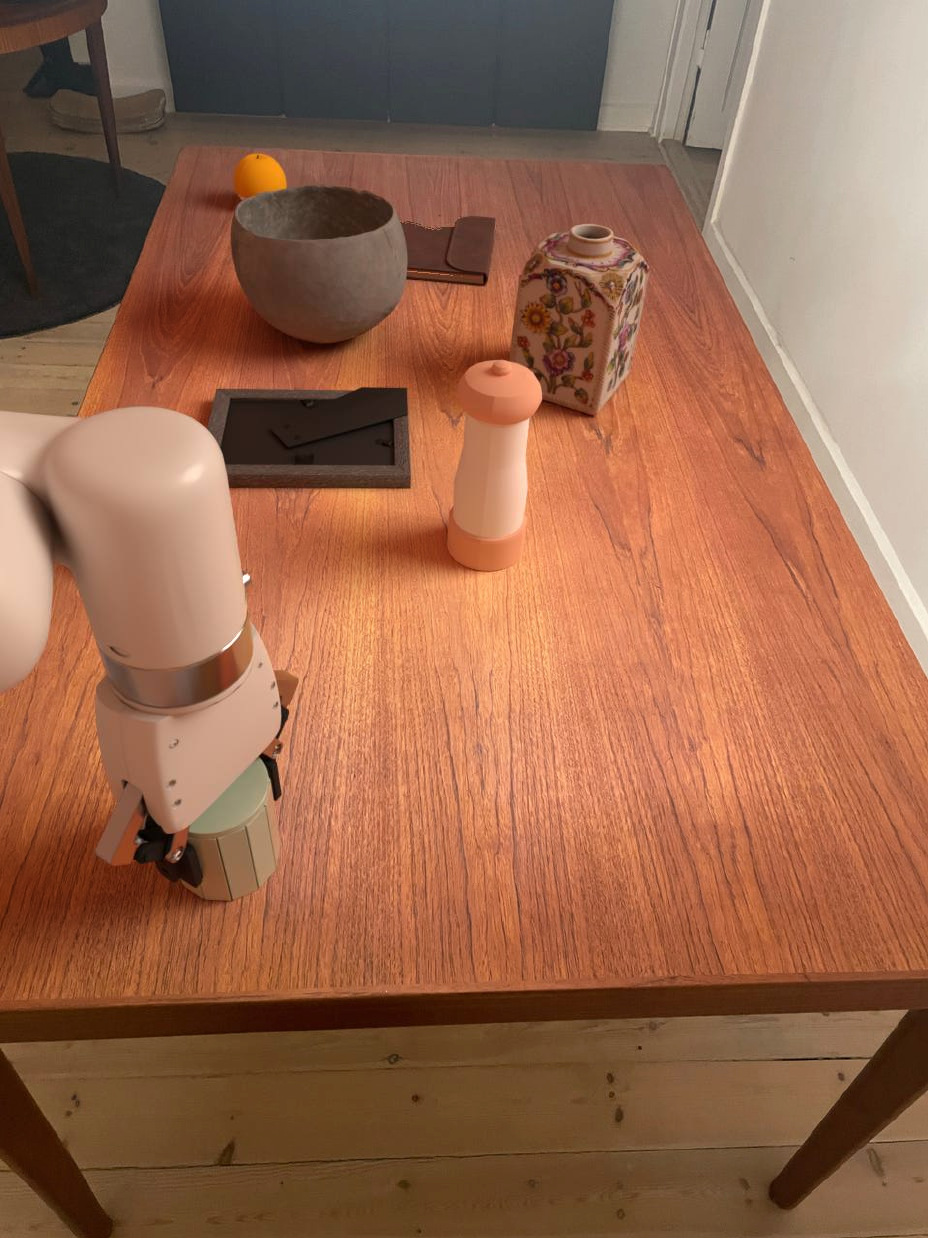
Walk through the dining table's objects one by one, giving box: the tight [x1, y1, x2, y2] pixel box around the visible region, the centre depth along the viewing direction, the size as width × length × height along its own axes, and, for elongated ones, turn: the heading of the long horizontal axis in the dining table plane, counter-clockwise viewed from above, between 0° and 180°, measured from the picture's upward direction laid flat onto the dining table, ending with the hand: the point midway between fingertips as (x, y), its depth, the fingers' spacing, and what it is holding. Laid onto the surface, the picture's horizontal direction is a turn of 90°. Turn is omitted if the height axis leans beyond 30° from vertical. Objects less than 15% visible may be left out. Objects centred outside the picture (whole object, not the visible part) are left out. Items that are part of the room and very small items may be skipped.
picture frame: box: [206, 386, 412, 489], centre depth 96 cm, size 16×2×21 cm
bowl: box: [230, 184, 408, 344], centre depth 109 cm, size 20×20×15 cm
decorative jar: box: [508, 223, 651, 417], centre depth 102 cm, size 12×12×18 cm
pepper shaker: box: [446, 359, 543, 572], centre depth 79 cm, size 7×7×19 cm
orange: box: [232, 153, 288, 198], centre depth 139 cm, size 8×8×8 cm
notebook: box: [400, 215, 498, 287], centre depth 132 cm, size 15×20×2 cm
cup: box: [180, 756, 282, 902], centre depth 59 cm, size 7×10×8 cm
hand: (222, 828), depth 59 cm, fingers closed on cup, 6 cm apart
